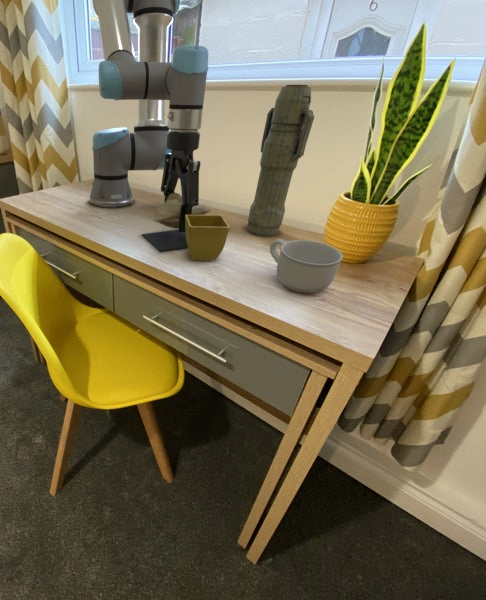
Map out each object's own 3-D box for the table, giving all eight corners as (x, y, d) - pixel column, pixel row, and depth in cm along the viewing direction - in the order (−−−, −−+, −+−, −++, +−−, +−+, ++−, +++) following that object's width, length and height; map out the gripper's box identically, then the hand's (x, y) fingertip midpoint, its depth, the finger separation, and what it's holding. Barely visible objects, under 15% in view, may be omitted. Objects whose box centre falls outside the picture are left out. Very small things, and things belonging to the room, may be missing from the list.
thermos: (272, 240, 88) (312, 84, 69) (235, 228, 96) (263, 84, 77) (290, 233, 92) (332, 85, 74) (254, 222, 100) (284, 85, 82)
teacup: (341, 294, 65) (357, 257, 60) (298, 304, 61) (311, 265, 57) (290, 264, 76) (300, 231, 71) (250, 271, 73) (258, 237, 68)
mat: (141, 235, 90) (141, 234, 90) (193, 228, 95) (193, 227, 95) (160, 252, 81) (160, 250, 81) (216, 244, 86) (216, 242, 85)
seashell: (161, 215, 78) (169, 178, 80) (143, 227, 87) (150, 193, 89) (208, 236, 84) (214, 201, 86) (186, 246, 92) (192, 214, 94)
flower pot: (181, 249, 83) (185, 213, 78) (216, 249, 83) (222, 214, 78) (185, 264, 75) (189, 226, 71) (223, 265, 75) (230, 227, 70)
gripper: (150, 127, 83) (147, 215, 95) (192, 135, 66) (182, 241, 78) (177, 126, 85) (170, 212, 97) (224, 134, 68) (209, 237, 80)
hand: (175, 225), depth 88 cm, fingers closed on seashell, 8 cm apart
